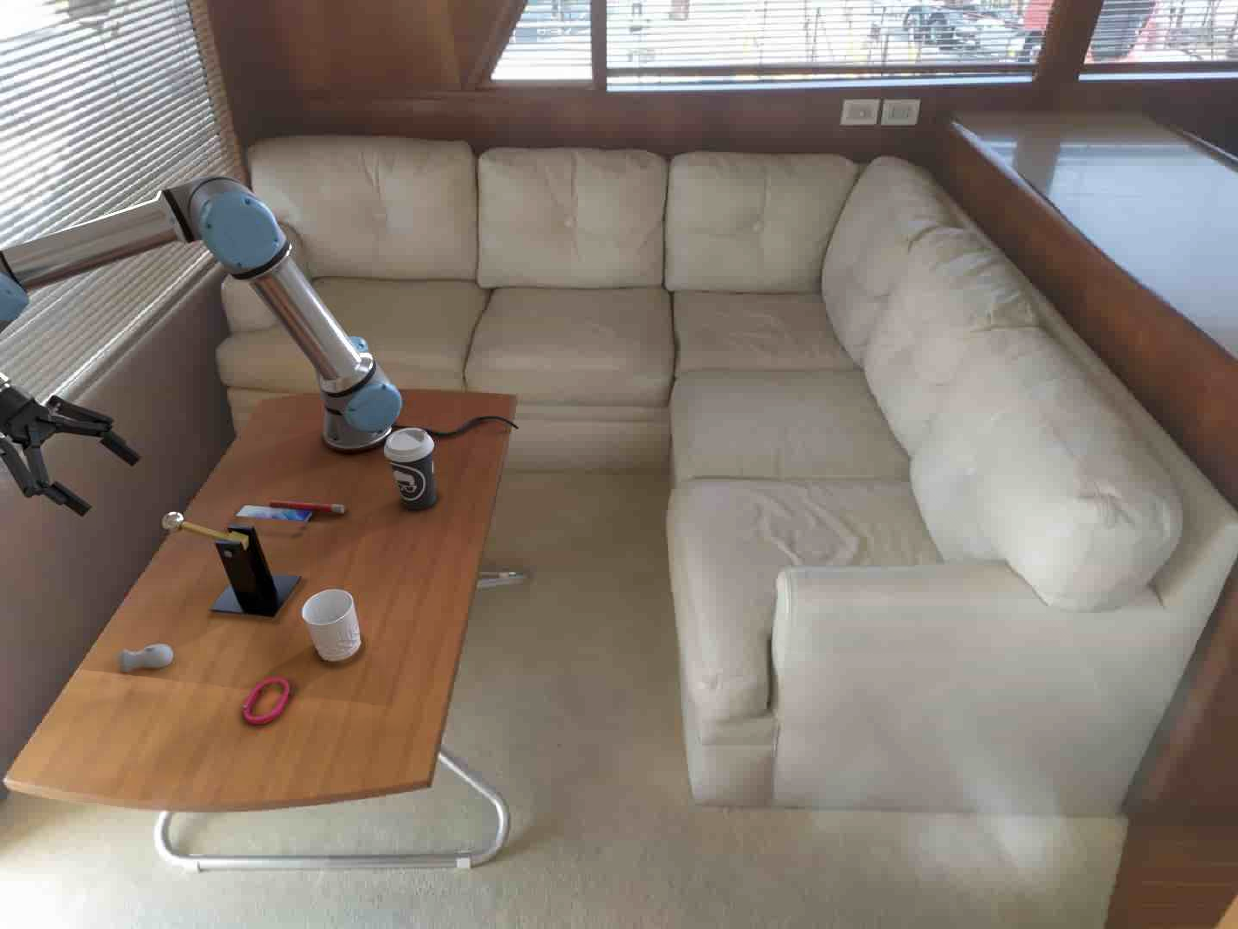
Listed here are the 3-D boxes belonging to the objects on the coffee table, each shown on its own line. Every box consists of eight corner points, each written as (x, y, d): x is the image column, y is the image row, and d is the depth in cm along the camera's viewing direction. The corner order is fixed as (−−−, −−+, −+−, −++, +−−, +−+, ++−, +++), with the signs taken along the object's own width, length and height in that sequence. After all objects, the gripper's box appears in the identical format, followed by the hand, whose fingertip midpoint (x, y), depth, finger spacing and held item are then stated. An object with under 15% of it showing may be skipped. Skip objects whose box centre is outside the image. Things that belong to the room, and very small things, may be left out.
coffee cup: (448, 507, 171) (436, 446, 162) (400, 520, 168) (386, 457, 159) (438, 481, 178) (426, 421, 169) (392, 492, 175) (378, 431, 167)
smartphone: (243, 504, 172) (313, 509, 170) (245, 507, 173) (314, 513, 170) (224, 526, 166) (296, 532, 164) (225, 529, 167) (297, 536, 165)
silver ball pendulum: (158, 533, 143) (156, 518, 141) (170, 520, 146) (169, 504, 144) (239, 559, 143) (239, 544, 141) (250, 545, 146) (250, 530, 144)
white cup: (314, 640, 143) (299, 597, 137) (362, 627, 145) (350, 584, 139) (318, 674, 136) (303, 630, 131) (368, 660, 139) (355, 616, 133)
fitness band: (264, 681, 136) (261, 674, 135) (298, 685, 135) (296, 678, 134) (237, 722, 129) (234, 716, 128) (273, 727, 128) (270, 721, 127)
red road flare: (341, 515, 169) (339, 508, 168) (270, 510, 171) (268, 503, 170) (345, 509, 171) (343, 503, 170) (274, 505, 173) (272, 498, 172)
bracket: (212, 615, 148) (184, 550, 139) (241, 576, 156) (217, 512, 147) (276, 622, 146) (252, 557, 138) (303, 582, 154) (282, 518, 146)
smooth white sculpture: (181, 658, 142) (169, 675, 137) (131, 662, 141) (117, 679, 136) (176, 635, 140) (164, 651, 135) (125, 639, 140) (111, 655, 135)
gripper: (39, 371, 146) (145, 453, 154) (-76, 456, 127) (54, 545, 135) (57, 348, 143) (165, 433, 151) (-58, 432, 123) (74, 524, 131)
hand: (113, 486), depth 143 cm, fingers open, 13 cm apart
